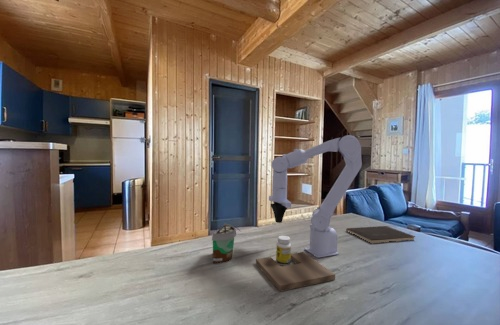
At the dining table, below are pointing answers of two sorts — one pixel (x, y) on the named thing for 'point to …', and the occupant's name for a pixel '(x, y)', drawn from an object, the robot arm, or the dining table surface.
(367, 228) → the dark brown flat board
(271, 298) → the dining table surface
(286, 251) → the supplement bottle
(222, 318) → the dining table surface
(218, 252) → the food container
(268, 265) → the notched board
